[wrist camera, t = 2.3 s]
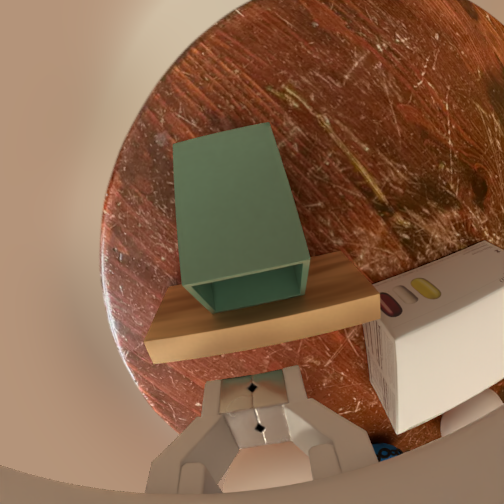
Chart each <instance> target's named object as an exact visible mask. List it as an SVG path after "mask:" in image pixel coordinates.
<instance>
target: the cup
mask: <svg viewBox="0 0 504 504" xmlns="http://www.w3.org/2000/svg"><path fill="white" fill-rule="evenodd" d="M312 480H313V478H312V472H311V466H310V460H309V457H308V456H307V455H306V454H305V453H304V452H303V451H302V450H301V449H299V448H298V447H297V446H296V445H295V444H294V443H293V442H292V441H287V442H281V443H275V444H268V445H262V446H256V447H250V448H244V449H240V451H239V453H238V454H237V456H236V457H235V459H234V460H233V461H232V463H231V465H230V467H229V470H228V472H227V475H226V477H225V480H224V483H223V491H222V492H223V493H228V492H240V491H250V490H258V489H266V488H273V487H280V486H286V485H291V484H297V483H302V482H307V481H312Z"/></svg>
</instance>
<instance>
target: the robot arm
mask: <svg viewBox="0 0 504 504" xmlns="http://www.w3.org/2000/svg"><path fill="white" fill-rule="evenodd" d="M283 374H284V375H283ZM287 441H292V442H293V443H294V444H295V445H296V446H297V447H298V448H299V449H301V450H302V451H303V452H304V453H305V454H306V455H307V456H308V457H309V460H310V466H311V472H312V478H313V480H312V481H307V482H302V483H297V484H291V485H286V486H280V487H273V488H266V489H258V490H250V491H240V492H228V493H223V492H222V491H221V489H220V488H219V487H218V485H217V484H218V483H219V481H220V480H221V478H222V477H223V475H224V474H225V472H226V471H227V469H228V468H229V466H230V464H231V463H232V461H233V460H234V458H235V457H236V455H237V454H238V452H239V449H244V448H250V447H256V446H262V445H268V444H275V443H281V442H287ZM0 504H504V404H503V405H501V406H500V407H498V408H496V409H495V410H493V411H491V412H489V413H488V414H486V415H484V416H482V417H481V418H479V419H477V420H475V421H473V422H471V423H470V424H468V425H466V426H464V427H462V428H460V429H458V430H456V431H454V432H452V433H450V434H448V435H446V436H443V437H441V438H439V439H437V440H435V441H432V442H430V443H428V444H425V445H423V446H421V447H418V448H416V449H413V450H411V451H408V452H406V453H403V454H400V455H398V456H395V457H392V458H389V459H387V460H384V461H381V462H378V459H377V456H376V454H375V451H374V449H373V446H372V444H371V441H370V439H369V436H368V434H367V432H366V431H365V430H363V429H362V428H360V427H358V426H357V425H355V424H353V423H352V422H350V421H348V420H347V419H345V418H343V417H342V416H340V415H338V414H337V413H335V412H333V411H332V410H330V409H329V408H327V407H325V406H324V405H322V404H321V403H319V402H318V401H316V400H314V399H313V398H310V399H307V395H306V391H305V387H304V384H303V380H302V376H301V372H300V368H299V366H298V365H296V366H291V367H287V368H283V370H282V369H280V370H275V371H270V372H265V373H260V374H255V375H249V376H242V377H235V378H228V379H222V380H214V381H207V382H206V384H205V389H204V397H203V405H202V413H201V417H196V418H195V419H194V420H193V422H192V423H191V424H190V425H189V426H188V427H187V428H186V429H185V430H184V431H183V432H182V433H181V434H180V435H179V436H178V437H177V438H176V439H175V440H174V441H173V442H172V443H171V444H170V445H169V446H168V447H167V448H166V449H165V450H164V451H163V452H162V453H161V454H160V455H159V456H158V457H157V458H156V459H155V460H154V461H153V462H152V463H151V468H150V472H149V477H148V481H147V486H146V491H145V493H134V492H124V491H114V490H106V489H98V488H91V487H85V486H80V485H74V484H69V483H64V482H59V481H55V480H51V479H46V478H42V477H38V476H35V475H31V474H27V473H24V472H20V471H17V470H13V469H11V468H8V467H4V466H2V465H0Z"/></svg>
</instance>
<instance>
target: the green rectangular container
mask: <svg viewBox="0 0 504 504" xmlns="http://www.w3.org/2000/svg"><path fill="white" fill-rule="evenodd" d="M173 169H174V191H175V208H176V224H177V237H178V250H179V261H180V272H181V282H182V286H183V287H184V288H185V289H186V290H187V291H188V292H189V293H190V294H191V295H192V296H193V297H194V298H195V299H196V300H197V301H198V302H200V303H201V304H202V305H203V306H204V307H205V308H206V309H207V310H208V311H209V312H210V313H211V314H216V313H221V312H226V311H232V310H237V309H242V308H247V307H252V306H257V305H261V304H266V303H271V302H276V301H281V300H285V299H290V298H294V297H299V296H303V295H305V292H306V286H307V279H308V273H309V266H310V259H311V258H310V254H309V250H308V247H307V243H306V240H305V236H304V233H303V229H302V225H301V222H300V219H299V215H298V212H297V208H296V205H295V202H294V198H293V195H292V192H291V188H290V185H289V182H288V178H287V175H286V172H285V169H284V166H283V162H282V159H281V156H280V153H279V150H278V147H277V144H276V141H275V138H274V135H273V132H272V129H271V126H270V123H269V122H266V123H261V124H256V125H251V126H246V127H241V128H236V129H232V130H227V131H223V132H218V133H214V134H210V135H206V136H202V137H198V138H194V139H190V140H186V141H182V142H179V143H175V144H173Z"/></svg>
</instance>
